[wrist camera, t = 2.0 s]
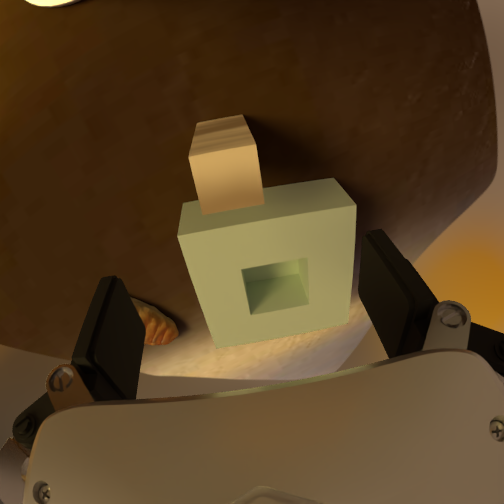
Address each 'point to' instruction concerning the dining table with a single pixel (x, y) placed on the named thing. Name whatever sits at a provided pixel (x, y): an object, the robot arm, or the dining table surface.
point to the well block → (273, 262)
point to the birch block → (225, 165)
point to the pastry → (155, 324)
